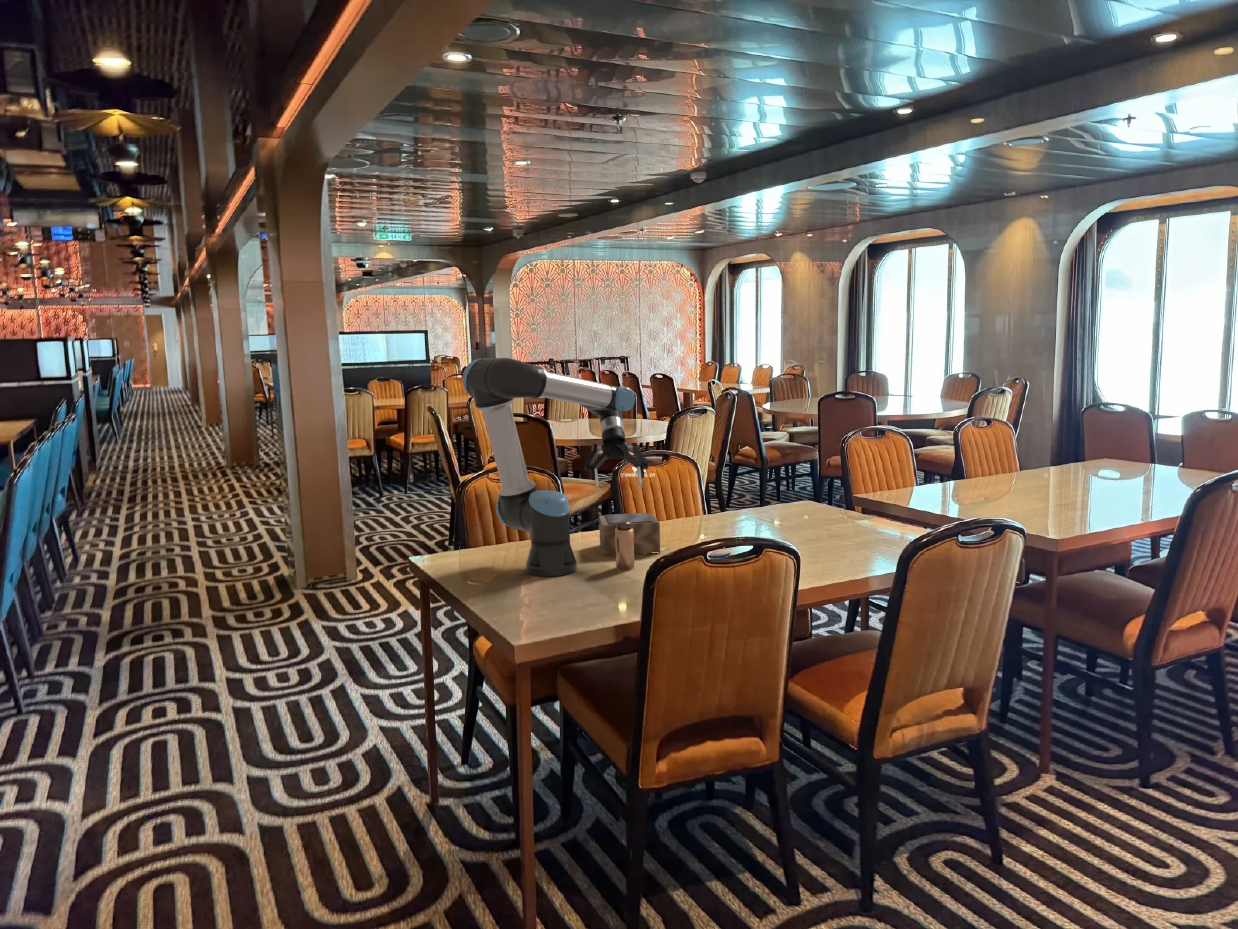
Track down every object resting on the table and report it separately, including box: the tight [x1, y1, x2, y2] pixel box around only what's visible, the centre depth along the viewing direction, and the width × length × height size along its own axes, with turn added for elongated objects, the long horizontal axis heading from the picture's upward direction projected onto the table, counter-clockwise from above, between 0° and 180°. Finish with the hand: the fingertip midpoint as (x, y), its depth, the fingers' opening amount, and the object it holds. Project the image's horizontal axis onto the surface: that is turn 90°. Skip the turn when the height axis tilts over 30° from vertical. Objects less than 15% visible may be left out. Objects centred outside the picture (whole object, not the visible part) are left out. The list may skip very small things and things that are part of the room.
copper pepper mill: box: [615, 521, 635, 571], centre depth 259 cm, size 6×6×14 cm
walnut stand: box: [598, 512, 661, 557], centre depth 284 cm, size 18×16×10 cm
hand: (619, 486), depth 270 cm, fingers open, 13 cm apart
